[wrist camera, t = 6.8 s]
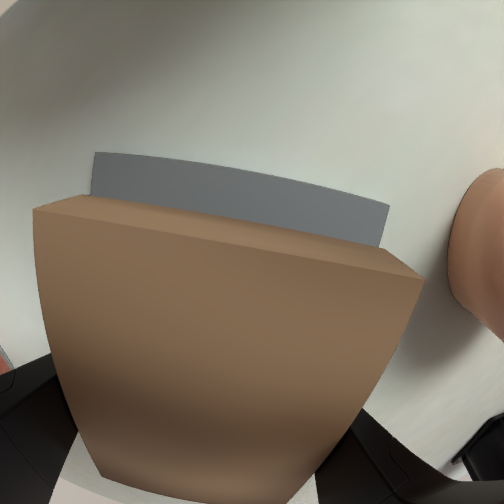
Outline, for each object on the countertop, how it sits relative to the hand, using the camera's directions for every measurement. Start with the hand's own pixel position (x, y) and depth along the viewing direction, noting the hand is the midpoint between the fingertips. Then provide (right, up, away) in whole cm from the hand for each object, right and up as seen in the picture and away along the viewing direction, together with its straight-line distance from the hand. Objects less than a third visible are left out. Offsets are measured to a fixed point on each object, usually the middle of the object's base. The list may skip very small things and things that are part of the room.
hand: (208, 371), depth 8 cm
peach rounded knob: (+12, +4, 0) cm, 13 cm away
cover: (0, 0, -1) cm, 1 cm away
